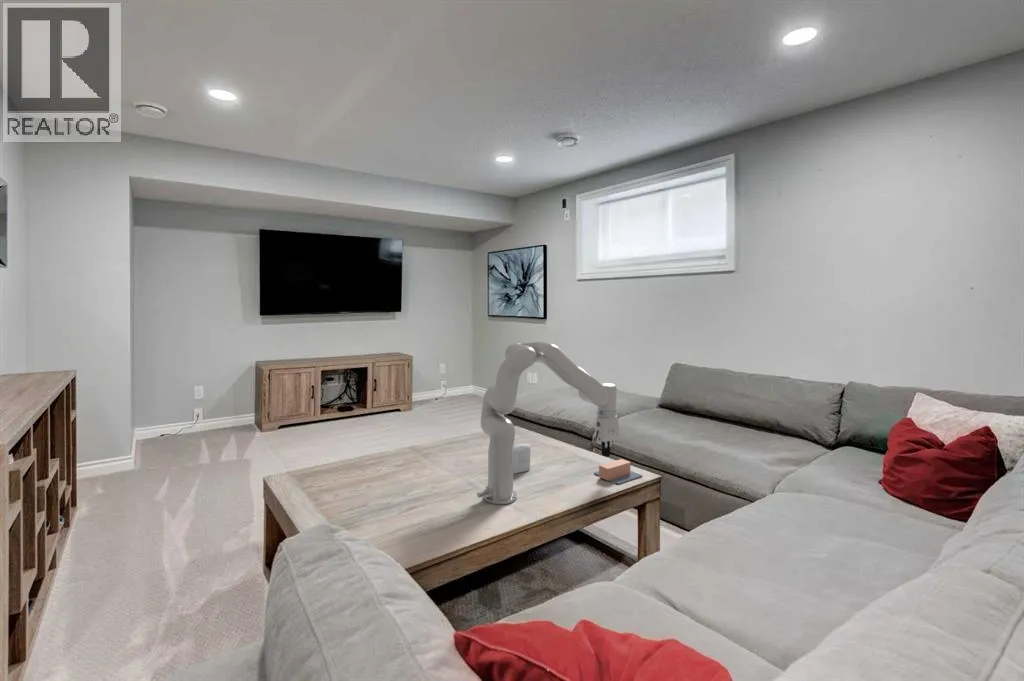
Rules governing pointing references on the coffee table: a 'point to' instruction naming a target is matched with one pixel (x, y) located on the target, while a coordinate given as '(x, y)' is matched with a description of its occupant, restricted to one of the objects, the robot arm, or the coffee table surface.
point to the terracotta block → (614, 469)
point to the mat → (624, 477)
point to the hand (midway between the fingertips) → (605, 455)
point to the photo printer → (521, 458)
